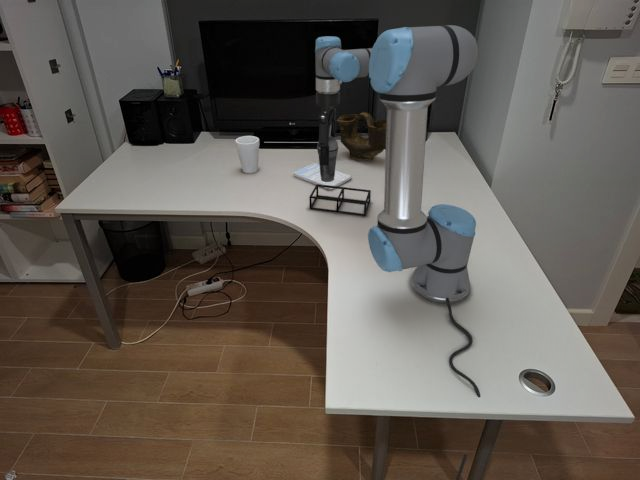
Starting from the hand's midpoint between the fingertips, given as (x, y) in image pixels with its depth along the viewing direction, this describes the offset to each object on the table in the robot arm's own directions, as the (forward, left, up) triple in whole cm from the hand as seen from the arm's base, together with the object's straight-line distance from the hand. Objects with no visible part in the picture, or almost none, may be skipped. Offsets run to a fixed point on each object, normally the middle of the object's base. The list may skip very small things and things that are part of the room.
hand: (327, 160), depth 150 cm
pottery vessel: (+45, -5, -17) cm, 49 cm away
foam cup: (+21, +38, -17) cm, 47 cm away
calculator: (+21, +7, -17) cm, 28 cm away
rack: (0, -5, -17) cm, 18 cm away
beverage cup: (0, 0, -7) cm, 7 cm away
